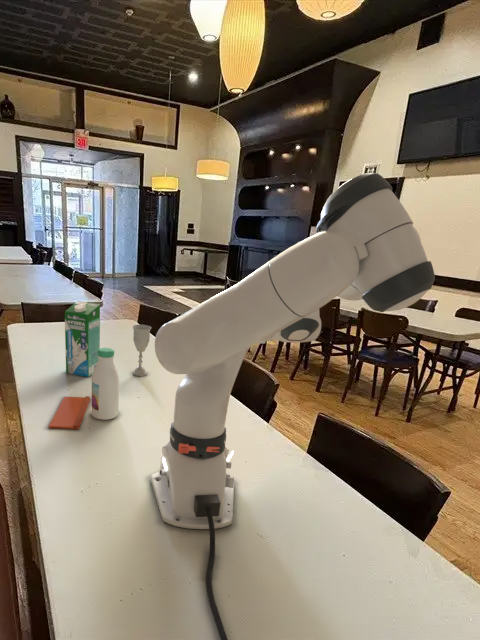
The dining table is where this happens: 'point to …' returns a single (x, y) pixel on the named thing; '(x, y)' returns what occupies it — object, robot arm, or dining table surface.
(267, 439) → the dining table surface
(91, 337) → the milk carton
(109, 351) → the milk bottle
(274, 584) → the dining table surface
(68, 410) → the roof tile
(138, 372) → the chalice
